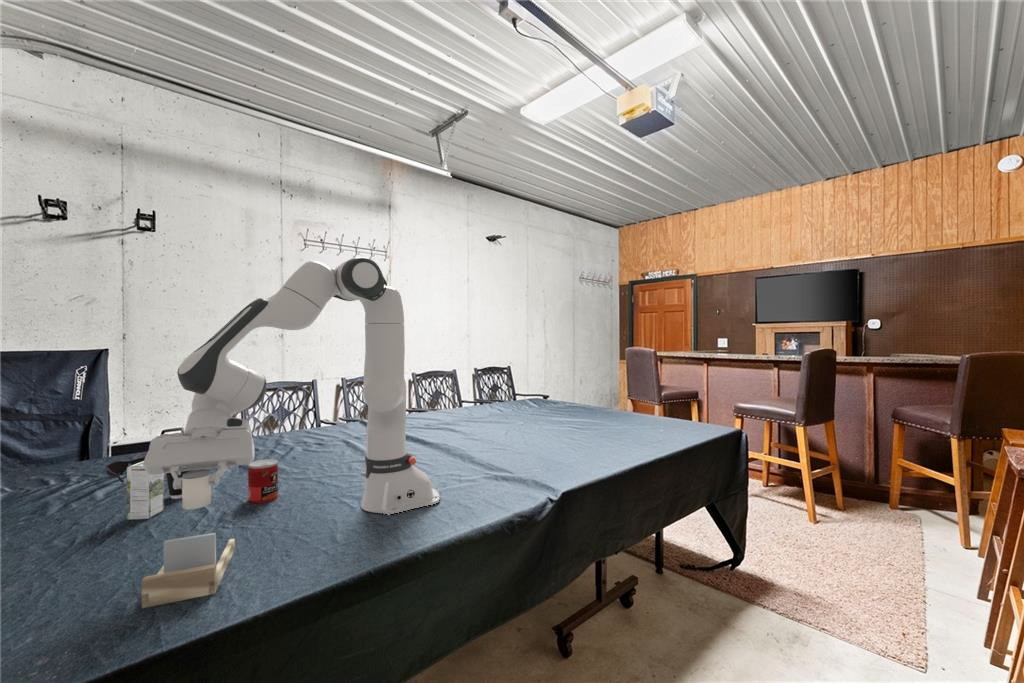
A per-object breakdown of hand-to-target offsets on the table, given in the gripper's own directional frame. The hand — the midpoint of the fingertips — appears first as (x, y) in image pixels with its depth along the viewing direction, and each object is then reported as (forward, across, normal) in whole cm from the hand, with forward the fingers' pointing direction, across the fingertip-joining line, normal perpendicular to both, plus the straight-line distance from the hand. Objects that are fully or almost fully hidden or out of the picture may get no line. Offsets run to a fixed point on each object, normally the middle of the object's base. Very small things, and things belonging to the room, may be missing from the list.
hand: (195, 485), depth 91 cm
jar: (+3, 0, +4) cm, 4 cm away
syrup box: (-14, -21, +38) cm, 45 cm away
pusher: (+17, +1, +8) cm, 18 cm away
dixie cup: (-24, -17, +48) cm, 56 cm away
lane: (+15, +1, +9) cm, 18 cm away
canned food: (-14, +7, +39) cm, 42 cm away
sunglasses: (-44, -39, +69) cm, 91 cm away
